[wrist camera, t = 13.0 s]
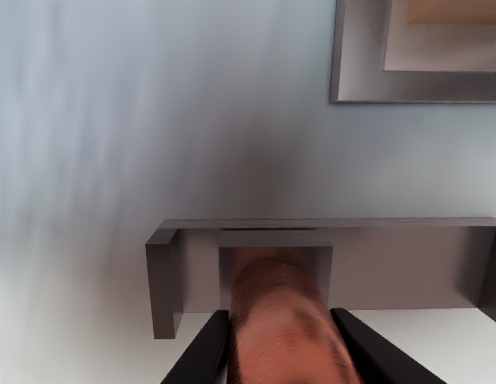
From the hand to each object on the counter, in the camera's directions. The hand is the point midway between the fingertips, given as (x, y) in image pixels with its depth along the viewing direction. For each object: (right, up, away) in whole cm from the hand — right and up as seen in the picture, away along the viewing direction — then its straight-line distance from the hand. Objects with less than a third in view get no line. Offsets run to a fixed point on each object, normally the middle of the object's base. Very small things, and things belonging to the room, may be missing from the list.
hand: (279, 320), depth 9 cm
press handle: (0, +1, +3) cm, 3 cm away
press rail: (+3, +1, +4) cm, 5 cm away
